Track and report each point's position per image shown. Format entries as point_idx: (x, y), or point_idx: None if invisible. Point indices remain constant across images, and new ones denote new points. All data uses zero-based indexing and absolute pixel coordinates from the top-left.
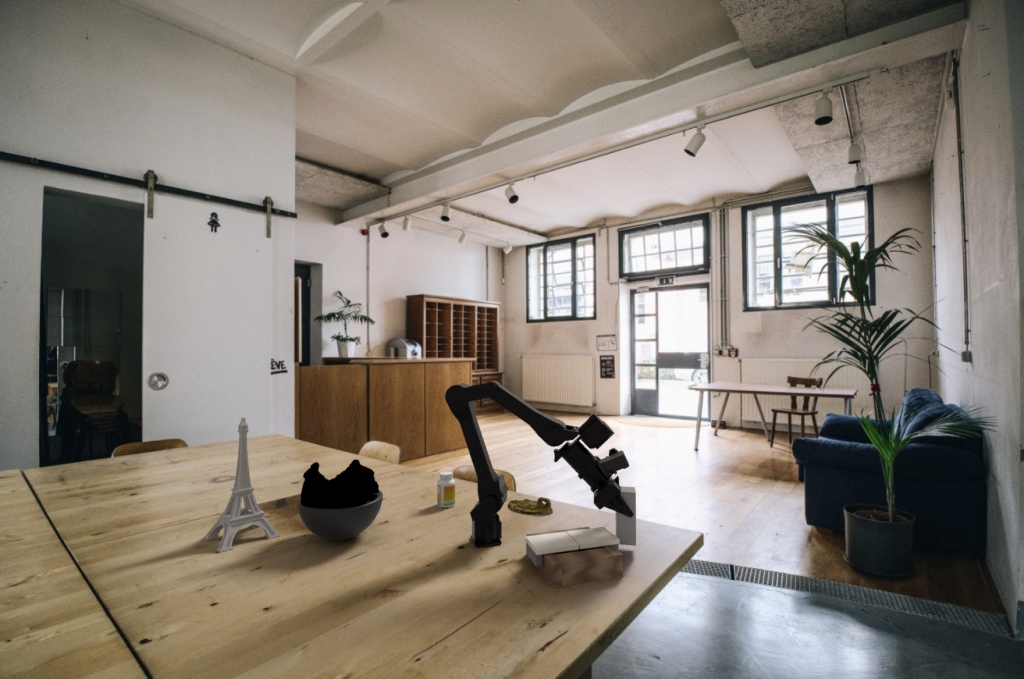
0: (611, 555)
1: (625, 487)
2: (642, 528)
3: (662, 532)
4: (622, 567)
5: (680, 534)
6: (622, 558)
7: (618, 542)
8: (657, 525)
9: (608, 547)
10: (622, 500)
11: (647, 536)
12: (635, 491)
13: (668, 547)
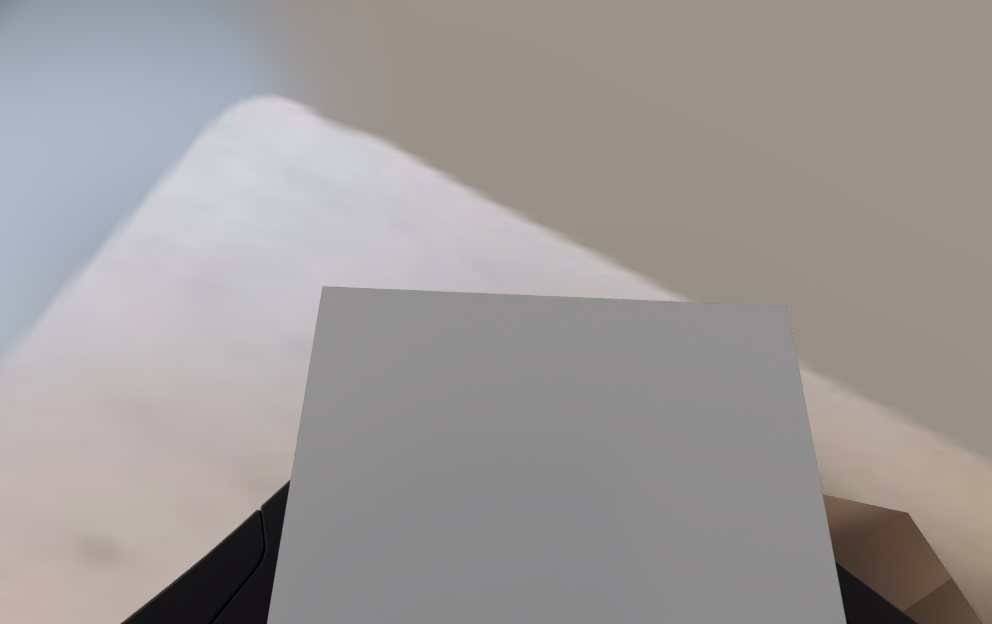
0: (957, 598)
1: (365, 540)
2: (171, 318)
3: (237, 225)
4: (836, 500)
5: (267, 151)
6: (882, 510)
7: None
8: (132, 232)
9: None
10: (883, 613)
11: (292, 307)
12: (697, 303)
13: (430, 232)
